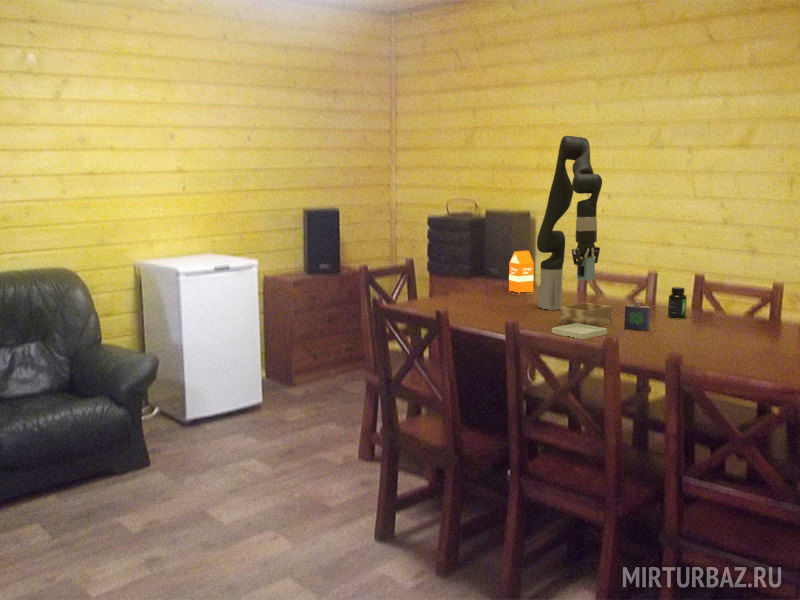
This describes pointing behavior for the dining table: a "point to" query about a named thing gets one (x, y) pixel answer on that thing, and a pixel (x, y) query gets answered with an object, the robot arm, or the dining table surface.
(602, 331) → the plate
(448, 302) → the dining table surface
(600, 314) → the crate
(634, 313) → the flask
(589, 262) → the block
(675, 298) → the supplement bottle
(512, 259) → the orange juice
